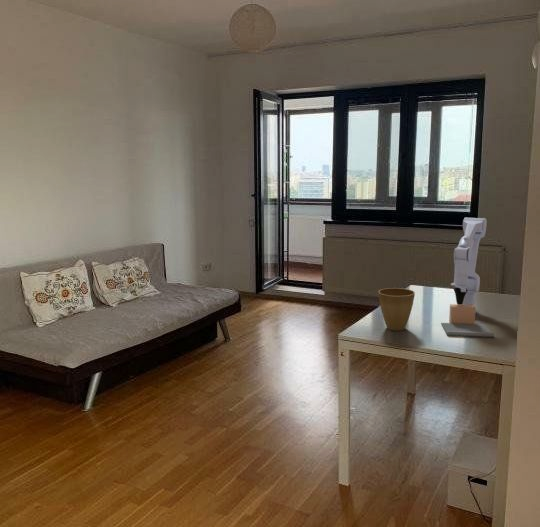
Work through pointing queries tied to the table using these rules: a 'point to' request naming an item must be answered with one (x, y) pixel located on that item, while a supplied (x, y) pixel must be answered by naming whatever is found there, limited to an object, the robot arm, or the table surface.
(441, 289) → the table surface
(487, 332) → the mat
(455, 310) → the terracotta block
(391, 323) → the plant pot
